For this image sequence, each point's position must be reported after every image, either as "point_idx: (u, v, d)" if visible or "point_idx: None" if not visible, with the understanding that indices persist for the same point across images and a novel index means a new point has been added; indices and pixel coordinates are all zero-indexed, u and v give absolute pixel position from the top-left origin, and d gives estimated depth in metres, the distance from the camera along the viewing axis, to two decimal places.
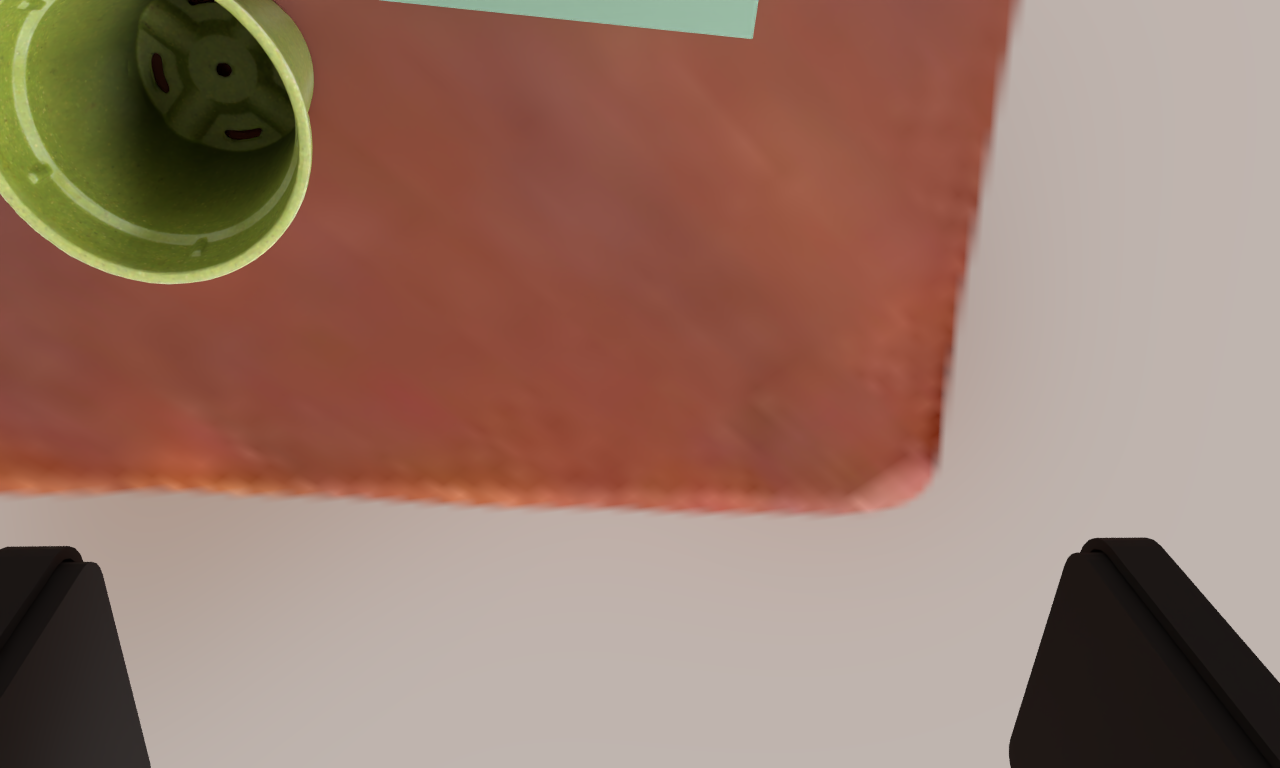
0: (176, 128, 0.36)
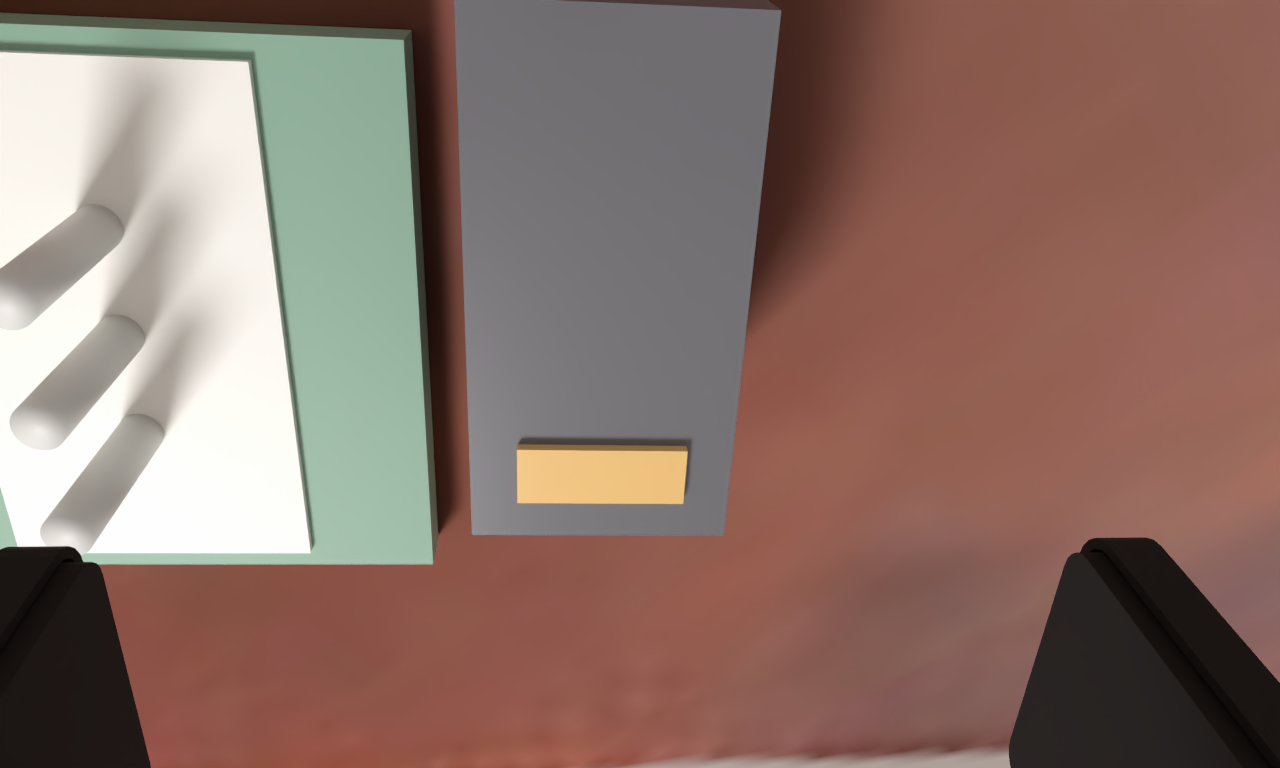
0: None
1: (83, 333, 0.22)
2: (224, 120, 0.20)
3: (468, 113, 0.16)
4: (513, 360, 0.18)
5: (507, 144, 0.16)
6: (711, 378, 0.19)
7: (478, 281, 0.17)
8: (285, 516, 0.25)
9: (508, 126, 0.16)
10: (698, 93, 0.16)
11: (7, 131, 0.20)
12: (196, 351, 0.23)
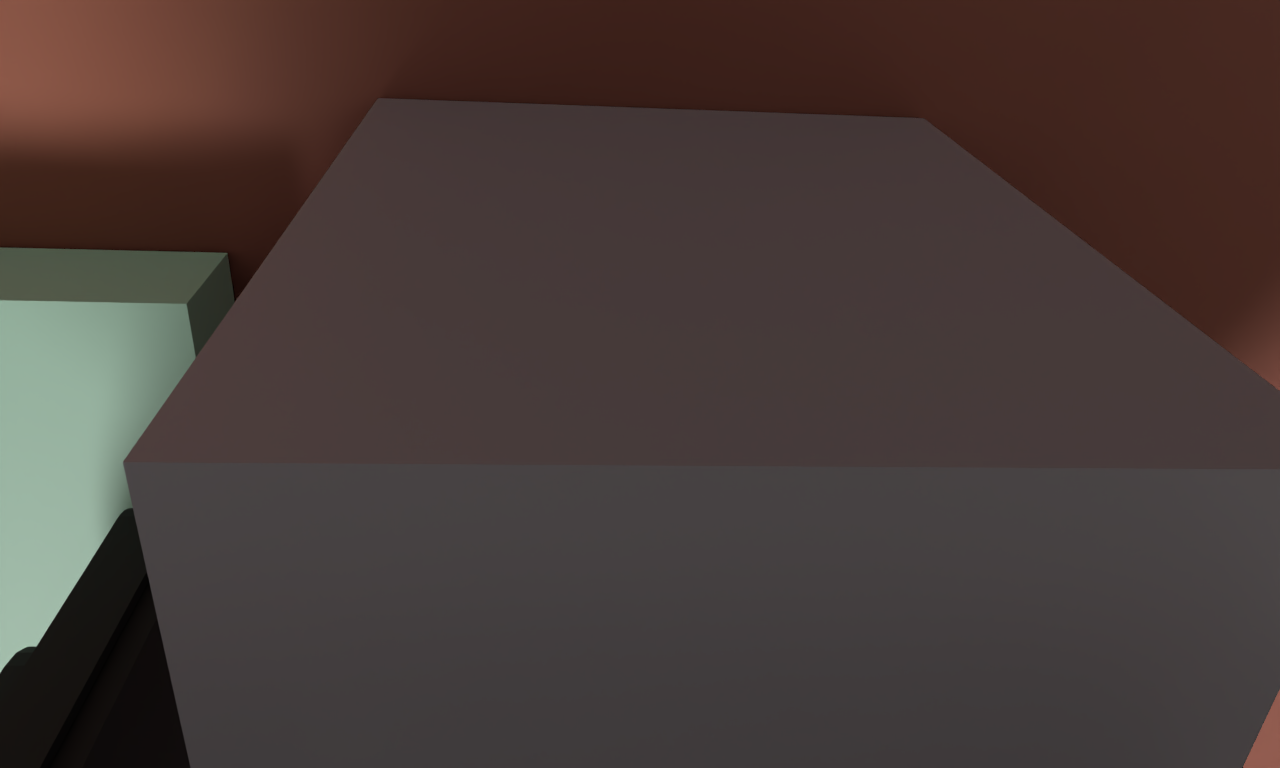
0: None
1: None
2: None
3: None
4: None
5: None
6: None
7: None
8: None
9: None
10: (1030, 705, 0.05)
11: None
12: None
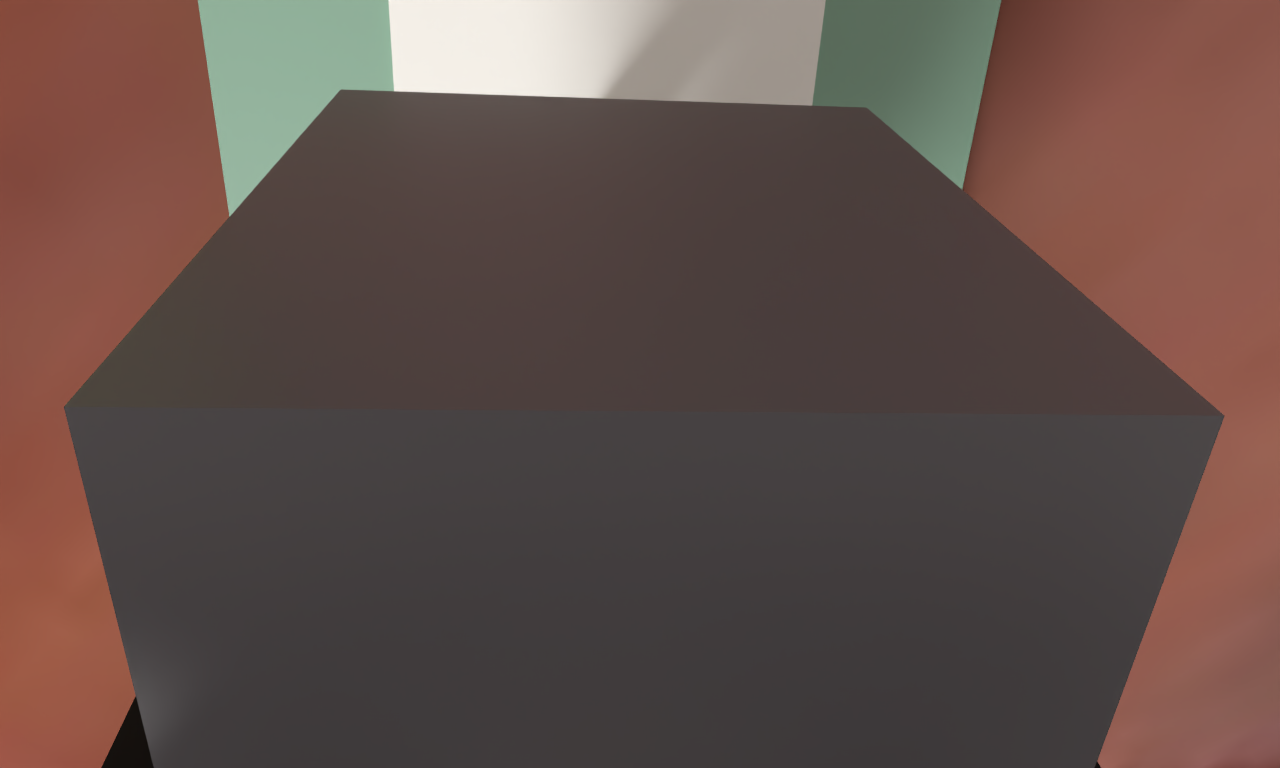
0: None
1: None
2: (787, 10, 0.16)
3: (176, 720, 0.05)
4: None
5: None
6: None
7: None
8: None
9: (312, 740, 0.05)
10: (915, 639, 0.05)
11: (523, 22, 0.16)
12: None
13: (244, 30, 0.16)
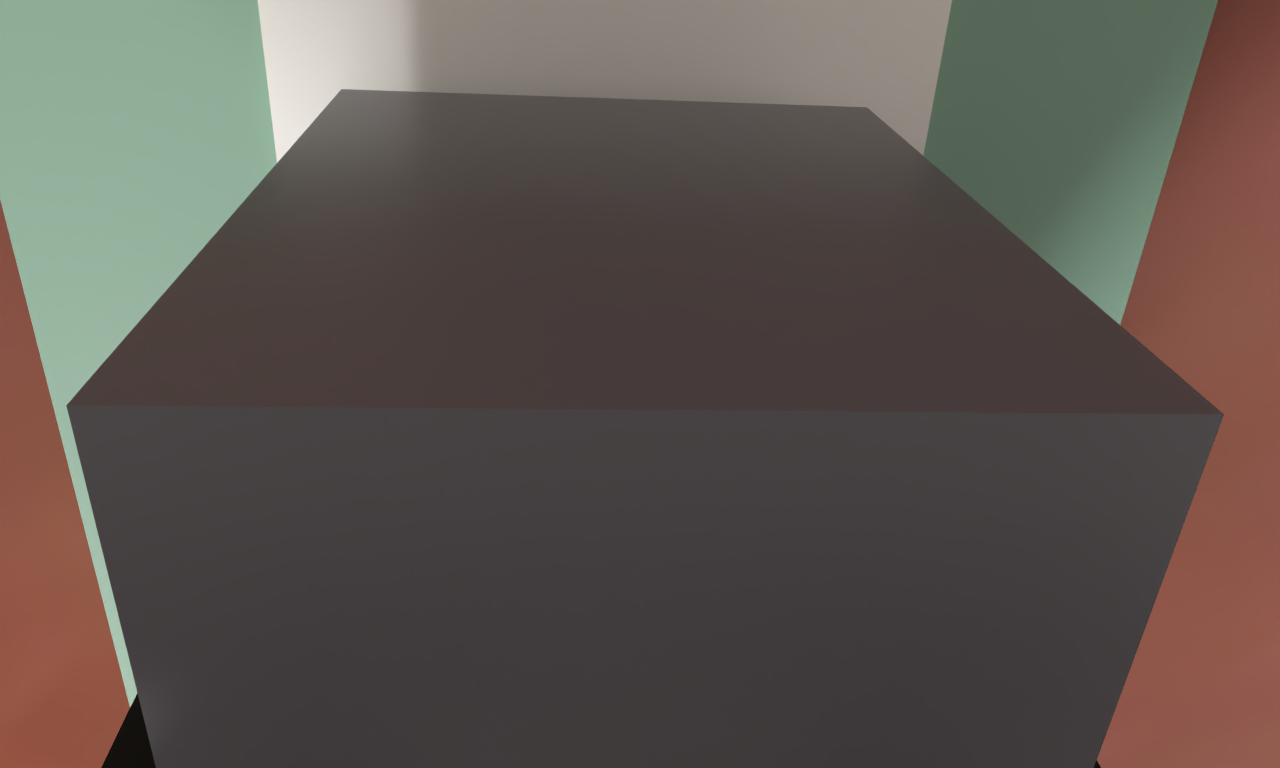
0: None
1: None
2: (878, 97, 0.11)
3: (178, 718, 0.05)
4: None
5: None
6: None
7: None
8: None
9: (315, 740, 0.05)
10: (915, 639, 0.05)
11: None
12: None
13: (48, 131, 0.11)
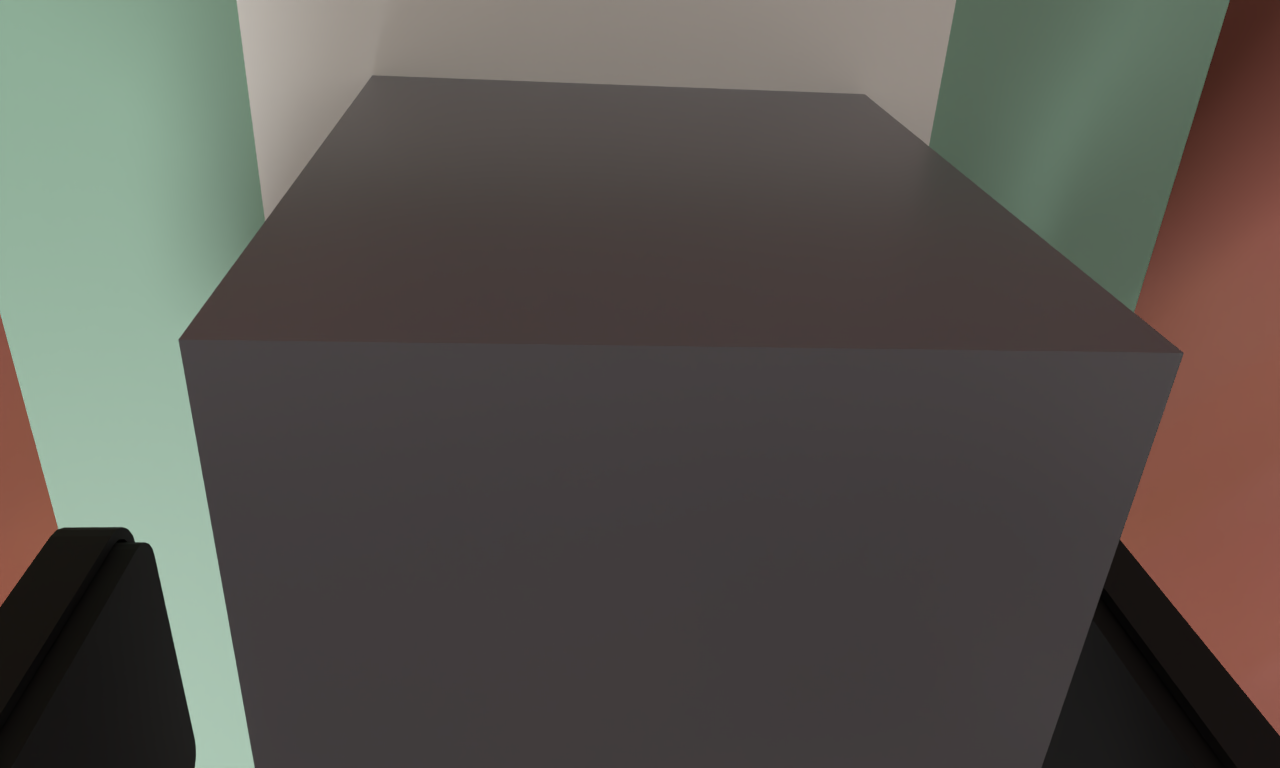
0: None
1: None
2: (879, 104, 0.11)
3: (260, 627, 0.06)
4: None
5: (379, 687, 0.06)
6: None
7: None
8: None
9: (378, 650, 0.06)
10: (914, 557, 0.06)
11: None
12: None
13: (22, 141, 0.10)
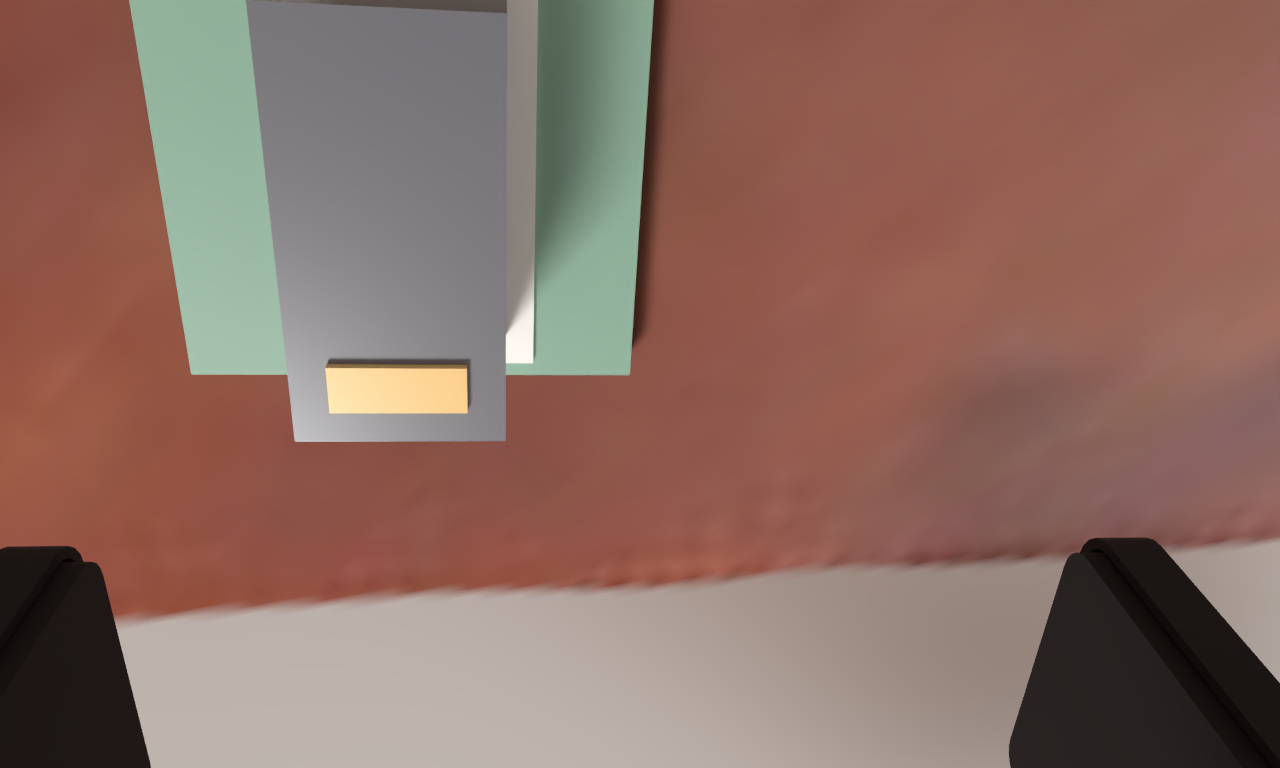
0: None
1: None
2: None
3: (264, 92, 0.20)
4: (317, 293, 0.23)
5: (298, 117, 0.21)
6: (481, 308, 0.23)
7: (283, 228, 0.22)
8: (517, 329, 0.30)
9: (297, 103, 0.21)
10: (447, 77, 0.21)
11: None
12: None
13: None
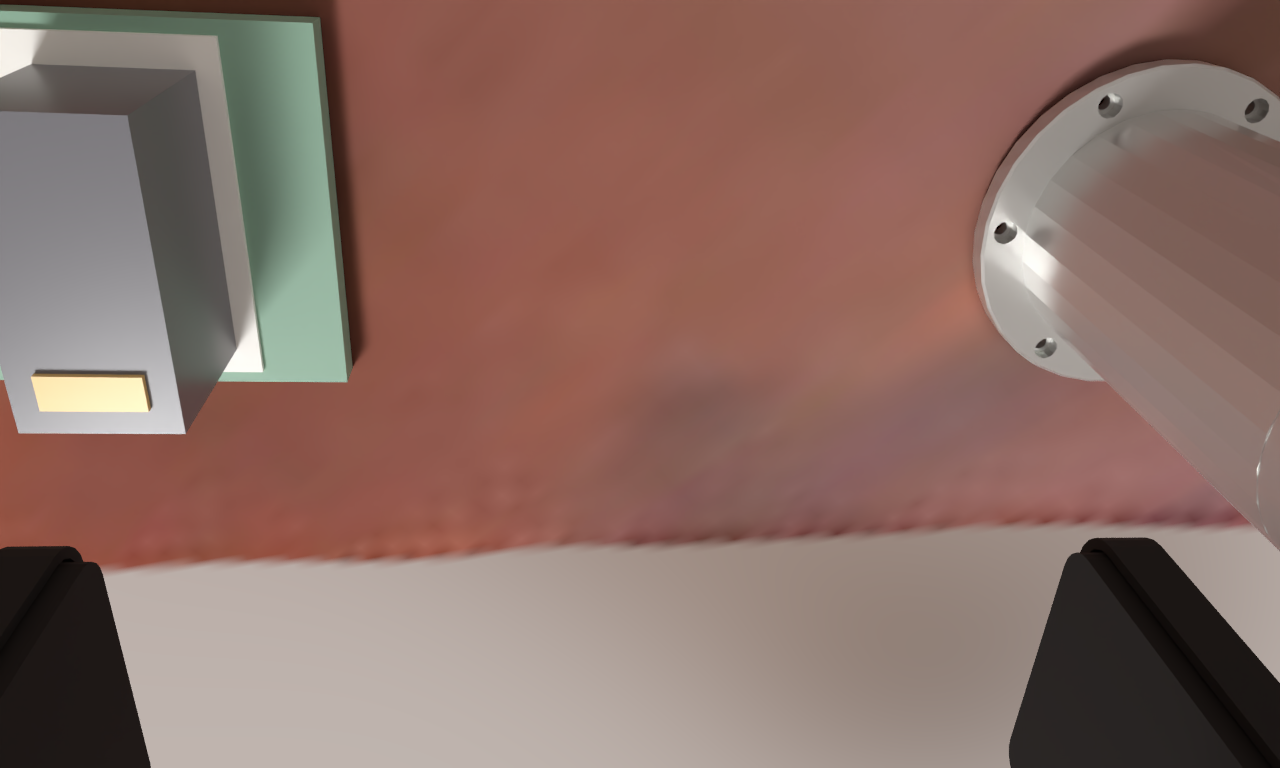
0: None
1: None
2: (201, 73, 0.33)
3: None
4: (17, 320, 0.30)
5: None
6: (147, 331, 0.30)
7: None
8: (245, 344, 0.37)
9: None
10: (90, 161, 0.28)
11: None
12: None
13: None
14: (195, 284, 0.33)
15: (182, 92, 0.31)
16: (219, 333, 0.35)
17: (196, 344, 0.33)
